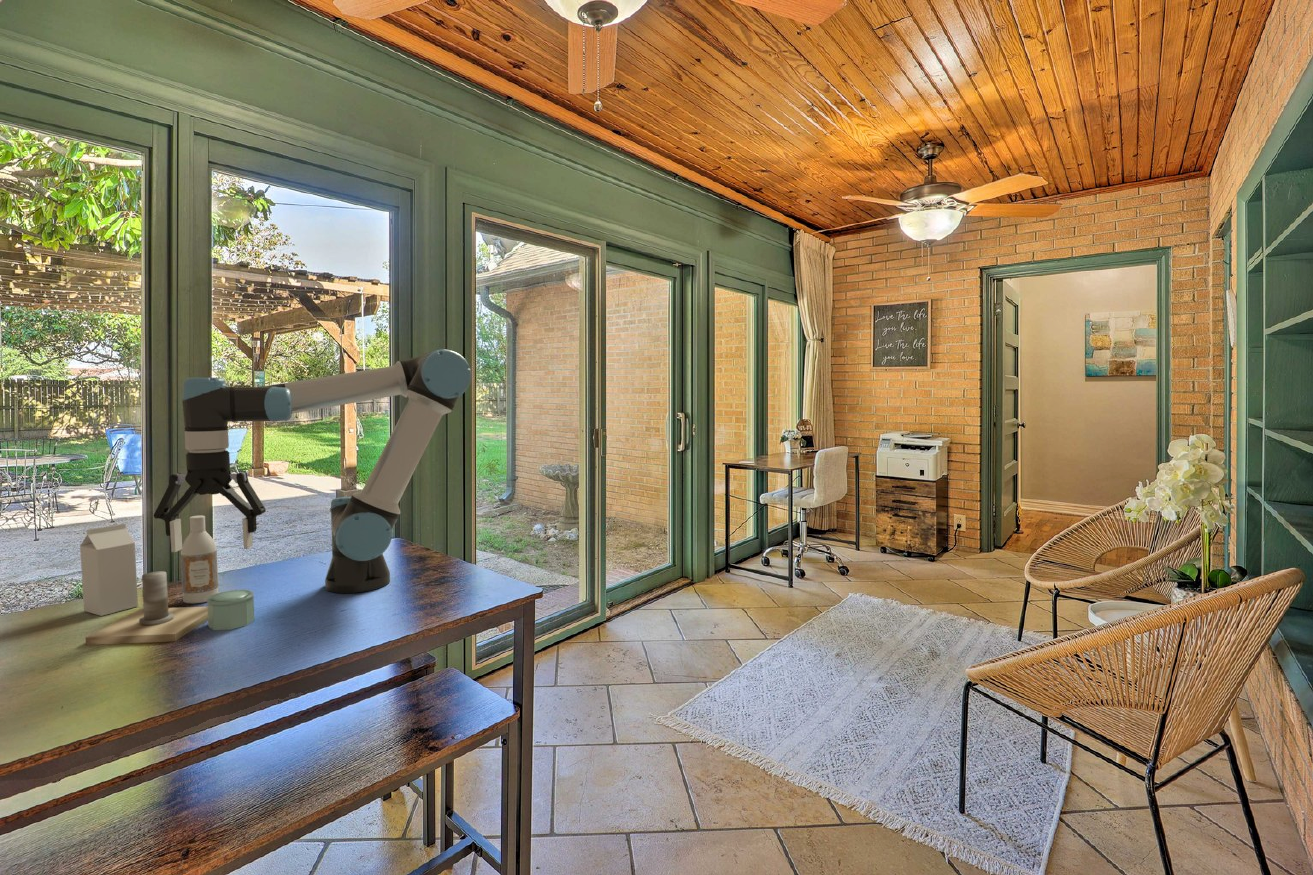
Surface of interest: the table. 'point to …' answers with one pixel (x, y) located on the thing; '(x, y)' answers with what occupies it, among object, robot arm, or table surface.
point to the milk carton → (108, 570)
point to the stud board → (150, 632)
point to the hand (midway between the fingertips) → (213, 549)
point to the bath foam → (199, 563)
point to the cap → (230, 609)
